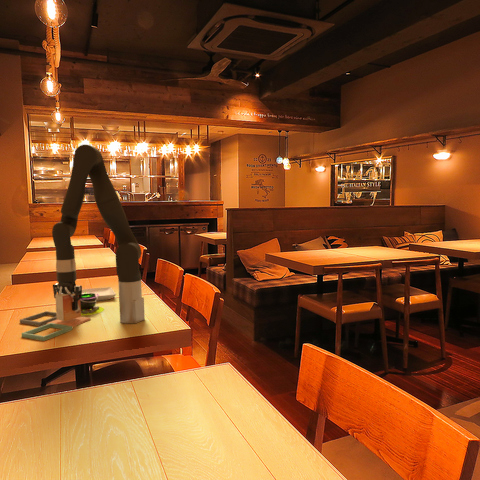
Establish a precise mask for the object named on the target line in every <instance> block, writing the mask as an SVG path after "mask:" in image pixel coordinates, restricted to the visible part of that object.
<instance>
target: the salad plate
mask: <svg viewBox="0 0 480 480" xmlns="http://www.w3.org/2000/svg"><path fill="white" fill-rule="evenodd" d="M83 289H84V290H83ZM83 289H82V294H84V293H85V292H86V293H95V295H96V296H97V294H99V296H97V297H96V299H97V302H101V301H107V300H111V299H113V298H114V297H116V296H117V293H116V292H115V291H114V289H113V288H112V287H111V286H108V287H106V286H105V287H93V288H92V287H91V289H92V290H88V289H89V288H88V289H87V288H83Z"/></svg>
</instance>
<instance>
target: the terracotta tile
mask: <svg viewBox="0 0 480 480" xmlns="http://www.w3.org/2000/svg"><path fill="white" fill-rule="evenodd" d="M91 320H92V319H91V317H88V316H87V317H85V316H81V317H78V318H74V319H70V320H66V321H62V320H58V319H57V320H54V321H51V322H48V323H47V324H49V323H55V324H62V325H69V326H72V328H73V327H77V326H78V325H82V324H83V323H86V322H88V321H91Z"/></svg>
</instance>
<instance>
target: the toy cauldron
mask: <svg viewBox="0 0 480 480" xmlns="http://www.w3.org/2000/svg"><path fill="white" fill-rule="evenodd" d="M84 289H85V288H82V290H84ZM86 289H88V290H92V288H89V287H86ZM97 296H99V294H97ZM97 296H96V295H95V293H86V292H85V293H84V294H82V299H81V300H80V306H81V317H85V316H92V315H97V314H99V313H103V312H104V311H105V308H104V307H102V306H98V305H96V304H97V302H98V301H97V299H96V297H97Z"/></svg>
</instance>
